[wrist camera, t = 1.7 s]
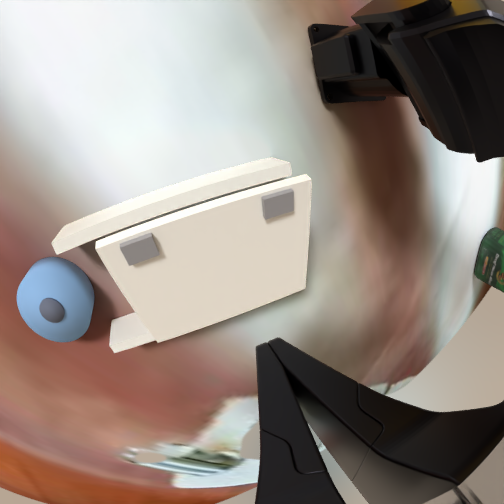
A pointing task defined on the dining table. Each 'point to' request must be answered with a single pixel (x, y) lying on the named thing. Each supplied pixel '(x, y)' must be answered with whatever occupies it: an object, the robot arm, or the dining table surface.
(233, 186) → the white channel bracket
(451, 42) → the robot arm
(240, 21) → the dining table surface
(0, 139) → the dining table surface
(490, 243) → the coffee jar
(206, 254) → the cover
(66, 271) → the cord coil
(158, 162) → the dining table surface
